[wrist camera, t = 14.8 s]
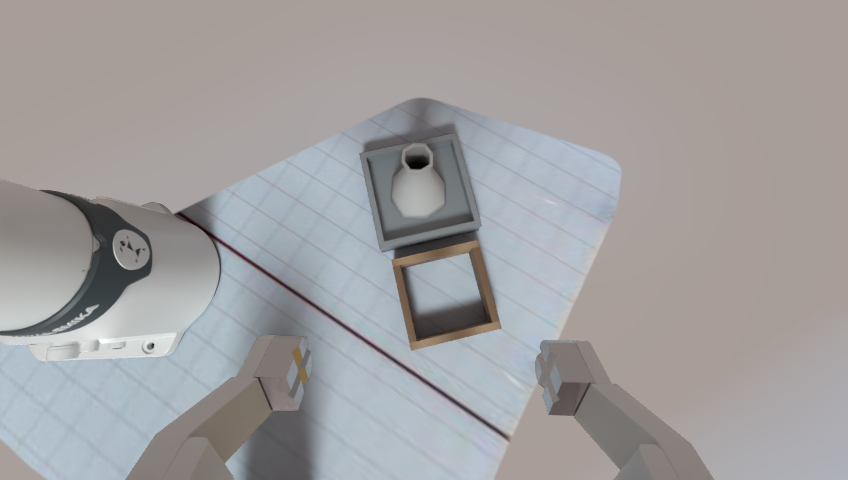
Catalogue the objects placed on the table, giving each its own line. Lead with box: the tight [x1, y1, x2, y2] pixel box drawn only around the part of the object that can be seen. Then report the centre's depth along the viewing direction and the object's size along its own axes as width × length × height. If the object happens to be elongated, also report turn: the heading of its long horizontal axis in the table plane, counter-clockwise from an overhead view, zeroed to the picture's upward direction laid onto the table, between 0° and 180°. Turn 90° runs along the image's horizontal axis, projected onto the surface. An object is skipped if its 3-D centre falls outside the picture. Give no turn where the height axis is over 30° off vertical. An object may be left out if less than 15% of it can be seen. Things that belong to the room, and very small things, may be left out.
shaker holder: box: [392, 240, 501, 351], centre depth 38 cm, size 10×10×3 cm
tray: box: [360, 133, 482, 252], centre depth 41 cm, size 12×12×2 cm
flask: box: [391, 143, 446, 219], centre depth 37 cm, size 7×7×10 cm
